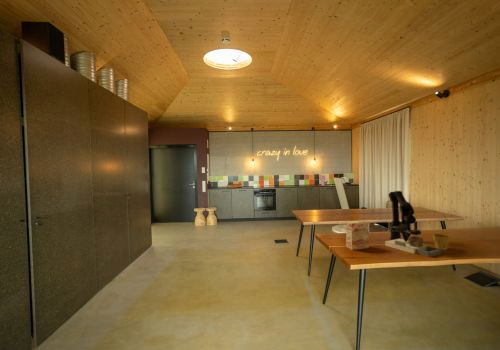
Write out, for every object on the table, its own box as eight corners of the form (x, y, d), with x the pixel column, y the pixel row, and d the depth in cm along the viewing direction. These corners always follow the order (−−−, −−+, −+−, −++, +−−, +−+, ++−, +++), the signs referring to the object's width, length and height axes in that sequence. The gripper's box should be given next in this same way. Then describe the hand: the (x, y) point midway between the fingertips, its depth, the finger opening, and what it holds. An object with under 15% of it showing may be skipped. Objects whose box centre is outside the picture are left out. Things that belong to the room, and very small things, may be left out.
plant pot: (442, 251, 183) (442, 237, 183) (429, 247, 193) (429, 234, 193) (454, 250, 185) (454, 236, 185) (440, 246, 195) (440, 233, 195)
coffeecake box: (352, 250, 188) (351, 223, 188) (345, 247, 195) (345, 221, 195) (369, 248, 192) (369, 222, 192) (362, 245, 199) (362, 220, 199)
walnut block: (409, 245, 188) (409, 237, 188) (414, 244, 191) (414, 236, 191) (417, 247, 183) (417, 239, 182) (423, 246, 185) (423, 238, 185)
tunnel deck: (385, 245, 199) (385, 238, 199) (399, 242, 207) (399, 235, 207) (428, 257, 171) (428, 249, 171) (443, 253, 179) (443, 245, 179)
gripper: (387, 219, 198) (387, 240, 198) (412, 224, 181) (411, 246, 182) (396, 218, 203) (396, 238, 203) (421, 222, 186) (421, 244, 187)
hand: (405, 241), depth 194 cm, fingers closed
